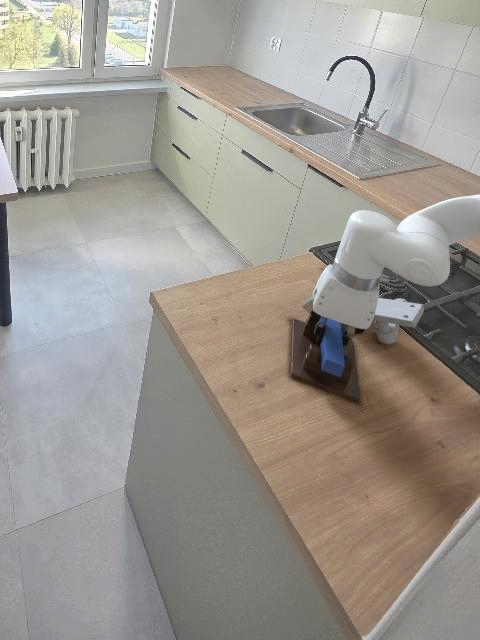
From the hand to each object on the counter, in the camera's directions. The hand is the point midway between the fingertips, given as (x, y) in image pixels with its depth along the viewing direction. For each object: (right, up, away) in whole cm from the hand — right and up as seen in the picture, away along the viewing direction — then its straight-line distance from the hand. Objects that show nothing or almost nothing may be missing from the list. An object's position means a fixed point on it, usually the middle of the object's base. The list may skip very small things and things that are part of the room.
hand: (328, 340), depth 86 cm
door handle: (+16, -1, +14) cm, 21 cm away
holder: (0, -5, +2) cm, 5 cm away
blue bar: (0, 0, 0) cm, 0 cm away
